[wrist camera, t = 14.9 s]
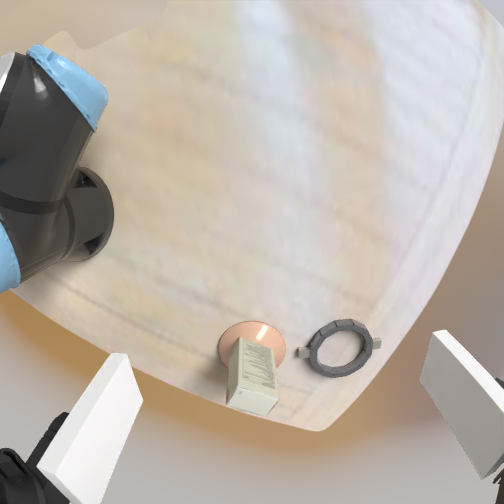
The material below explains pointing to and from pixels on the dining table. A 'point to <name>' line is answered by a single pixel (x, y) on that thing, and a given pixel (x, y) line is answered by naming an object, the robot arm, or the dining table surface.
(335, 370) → the bayonet collar
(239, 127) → the dining table surface
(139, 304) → the dining table surface
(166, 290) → the dining table surface
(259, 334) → the peach dome button
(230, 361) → the skincare box
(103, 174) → the dining table surface
